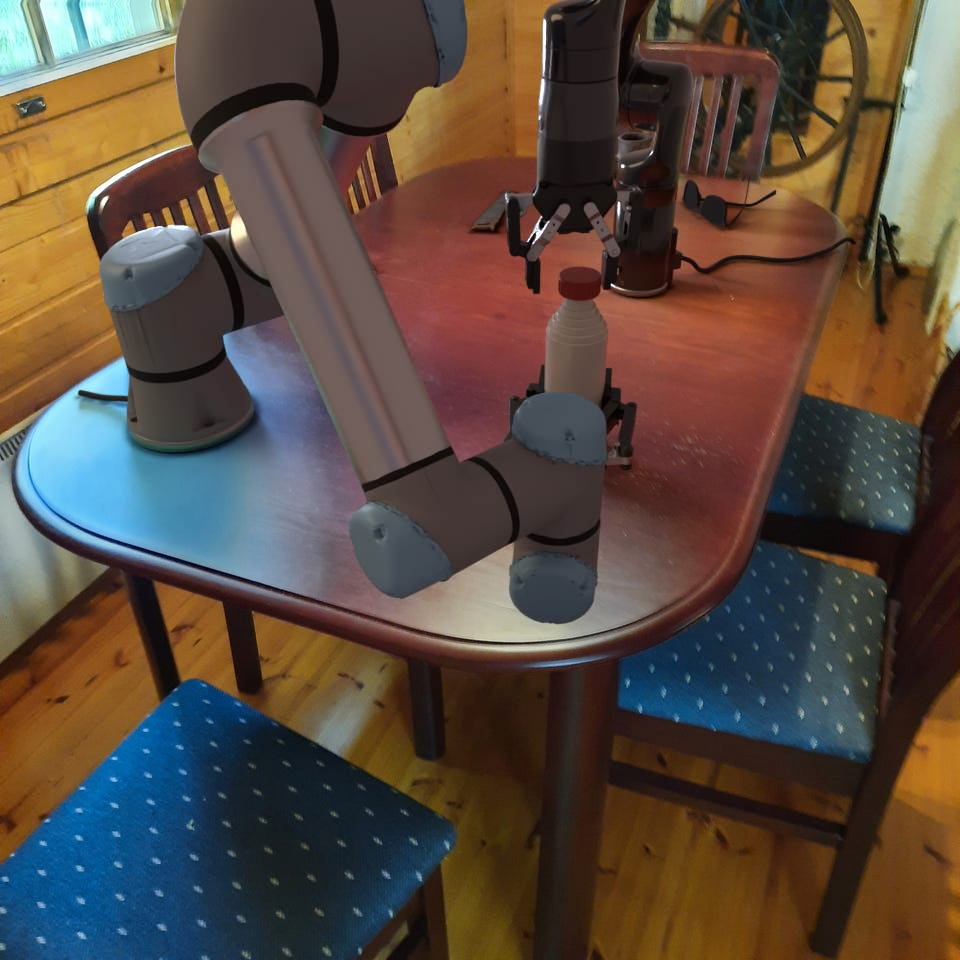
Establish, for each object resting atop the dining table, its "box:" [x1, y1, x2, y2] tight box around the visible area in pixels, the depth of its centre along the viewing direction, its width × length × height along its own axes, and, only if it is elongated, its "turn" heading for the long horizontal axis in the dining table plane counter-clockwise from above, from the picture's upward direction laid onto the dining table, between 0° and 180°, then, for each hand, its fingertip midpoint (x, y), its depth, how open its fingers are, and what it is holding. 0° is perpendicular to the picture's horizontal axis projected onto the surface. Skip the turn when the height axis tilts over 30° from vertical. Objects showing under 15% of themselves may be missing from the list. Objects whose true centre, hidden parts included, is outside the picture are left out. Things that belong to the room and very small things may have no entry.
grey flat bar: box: [470, 189, 516, 232], centre depth 168 cm, size 24×5×1 cm, turn 168°
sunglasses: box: [681, 175, 777, 228], centre depth 163 cm, size 17×14×5 cm
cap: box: [557, 266, 602, 301], centre depth 90 cm, size 4×4×2 cm
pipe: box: [614, 131, 654, 176], centre depth 181 cm, size 6×13×8 cm, turn 95°
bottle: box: [544, 297, 610, 411], centre depth 96 cm, size 7×7×21 cm
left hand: (576, 376), depth 103 cm, fingers closed on bottle, 7 cm apart
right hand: (570, 288), depth 91 cm, fingers open, 7 cm apart
